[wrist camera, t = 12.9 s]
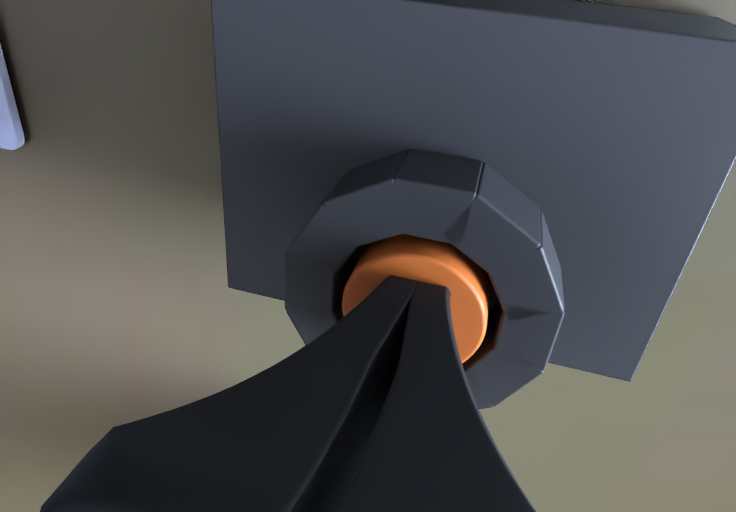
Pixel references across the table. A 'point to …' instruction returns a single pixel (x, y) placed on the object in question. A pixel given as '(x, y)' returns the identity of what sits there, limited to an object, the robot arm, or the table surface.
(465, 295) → the button
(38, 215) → the table surface
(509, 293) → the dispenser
